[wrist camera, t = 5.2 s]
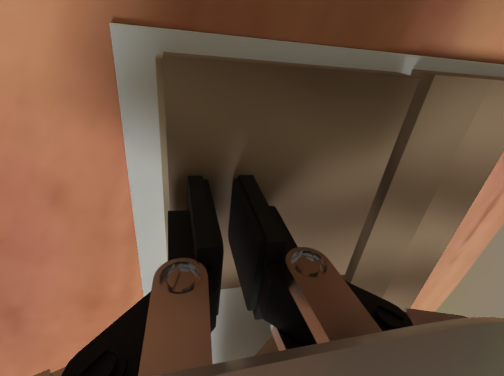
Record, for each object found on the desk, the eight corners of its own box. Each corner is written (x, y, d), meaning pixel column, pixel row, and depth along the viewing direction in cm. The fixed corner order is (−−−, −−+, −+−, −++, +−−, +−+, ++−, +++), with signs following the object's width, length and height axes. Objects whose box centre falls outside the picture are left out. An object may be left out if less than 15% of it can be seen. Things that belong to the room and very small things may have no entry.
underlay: (110, 22, 9) (109, 23, 8) (515, 65, 13) (521, 66, 13) (156, 395, 20) (156, 400, 20) (363, 350, 25) (365, 354, 25)
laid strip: (412, 68, 12) (435, 74, 11) (515, 78, 13) (543, 84, 12) (304, 364, 23) (310, 380, 22) (367, 350, 24) (375, 365, 23)
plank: (156, 51, 9) (154, 56, 8) (398, 72, 12) (420, 78, 11) (169, 275, 14) (168, 295, 13) (334, 258, 17) (344, 274, 16)
